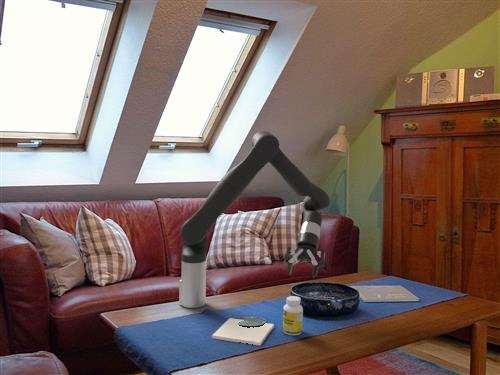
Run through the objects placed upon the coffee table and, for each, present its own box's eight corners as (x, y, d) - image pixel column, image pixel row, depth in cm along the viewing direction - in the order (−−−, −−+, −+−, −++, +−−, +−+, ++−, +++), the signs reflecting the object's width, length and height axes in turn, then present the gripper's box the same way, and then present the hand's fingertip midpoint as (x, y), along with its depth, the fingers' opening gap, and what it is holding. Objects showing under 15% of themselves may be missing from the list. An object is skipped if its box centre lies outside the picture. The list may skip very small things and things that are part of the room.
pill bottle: (279, 329, 164) (280, 296, 163) (296, 327, 166) (297, 294, 165) (287, 337, 158) (288, 302, 157) (305, 334, 160) (306, 300, 159)
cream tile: (212, 338, 156) (212, 335, 156) (229, 320, 171) (229, 318, 171) (260, 345, 151) (260, 342, 151) (273, 327, 166) (273, 324, 166)
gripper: (288, 229, 181) (279, 267, 171) (327, 232, 176) (320, 271, 166) (292, 241, 186) (283, 278, 177) (329, 244, 181) (322, 282, 172)
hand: (301, 275), depth 172 cm, fingers open, 8 cm apart
